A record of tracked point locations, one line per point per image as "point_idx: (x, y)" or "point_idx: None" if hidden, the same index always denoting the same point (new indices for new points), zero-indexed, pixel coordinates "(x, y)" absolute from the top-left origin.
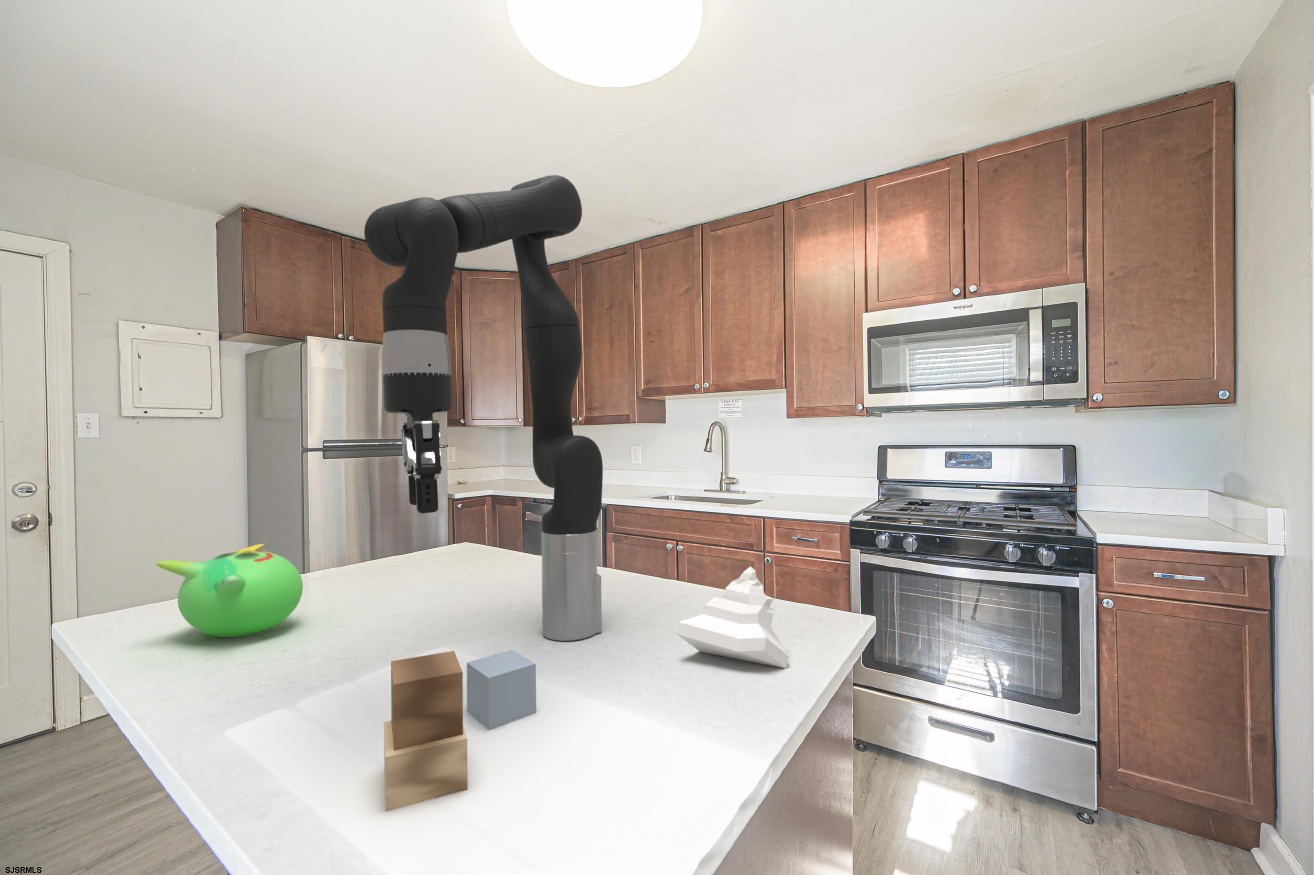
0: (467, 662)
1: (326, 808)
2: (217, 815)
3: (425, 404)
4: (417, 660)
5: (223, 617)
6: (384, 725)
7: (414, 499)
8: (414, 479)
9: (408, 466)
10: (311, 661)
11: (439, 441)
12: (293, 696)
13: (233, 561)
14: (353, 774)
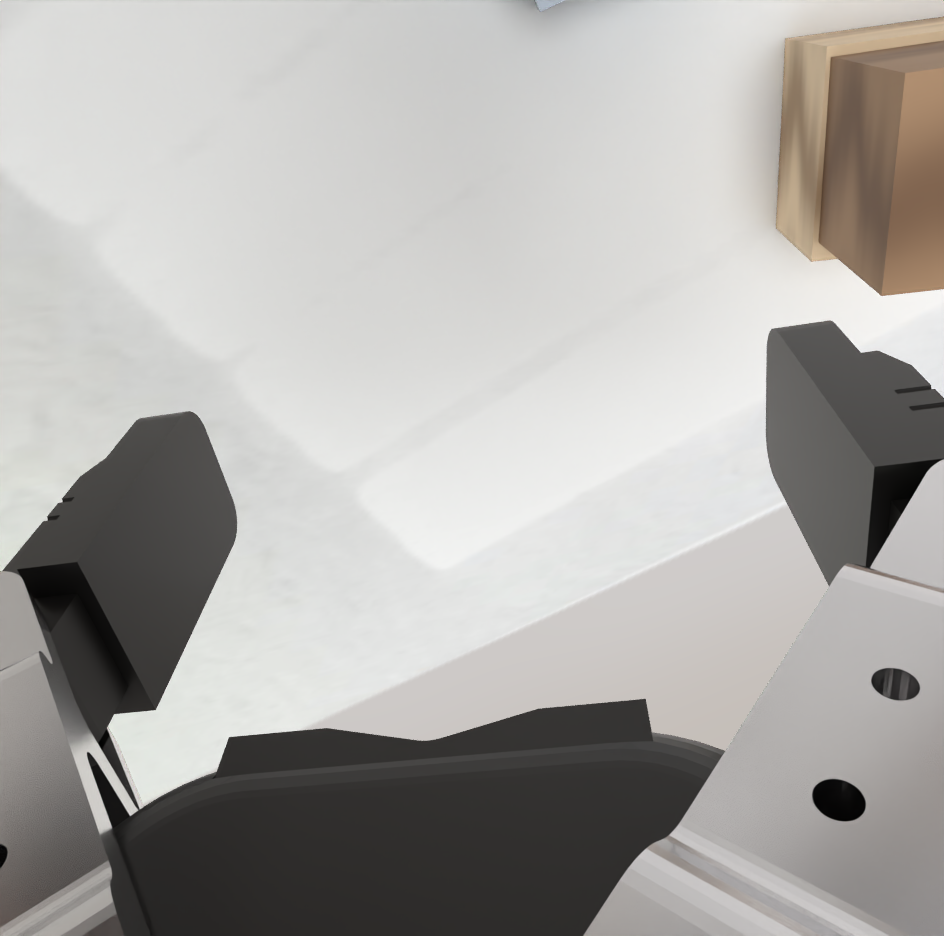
0: (543, 8)
1: (868, 326)
2: (780, 498)
3: None
4: (927, 209)
5: None
6: (835, 257)
7: (218, 522)
8: (150, 639)
9: (139, 796)
10: (53, 491)
11: None
12: (288, 486)
13: None
14: (758, 293)
